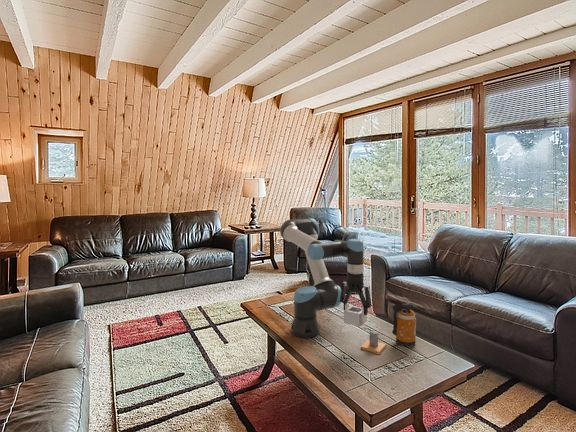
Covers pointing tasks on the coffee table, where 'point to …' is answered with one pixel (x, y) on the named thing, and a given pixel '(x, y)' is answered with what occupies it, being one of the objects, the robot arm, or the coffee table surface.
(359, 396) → the coffee table surface
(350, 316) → the grey hollow block
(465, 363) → the coffee table surface
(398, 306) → the canister
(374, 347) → the block
